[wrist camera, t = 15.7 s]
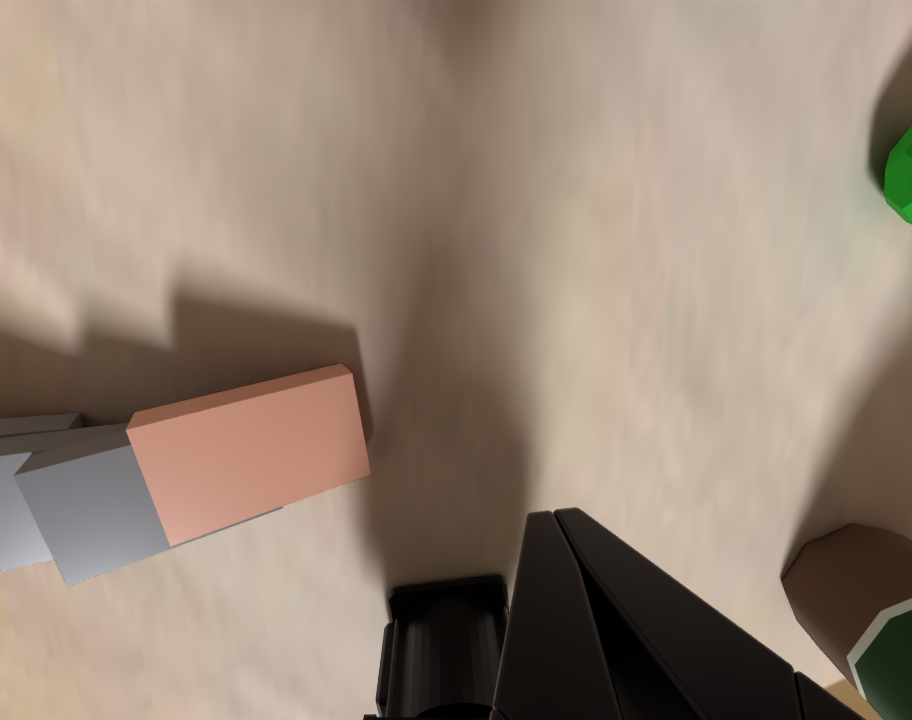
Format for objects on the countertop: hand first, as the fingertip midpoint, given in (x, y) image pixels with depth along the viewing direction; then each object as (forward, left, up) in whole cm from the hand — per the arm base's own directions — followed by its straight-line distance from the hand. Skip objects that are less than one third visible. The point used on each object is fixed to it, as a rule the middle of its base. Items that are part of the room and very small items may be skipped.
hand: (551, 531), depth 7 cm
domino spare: (+6, +3, -12) cm, 14 cm away
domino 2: (+10, +4, -12) cm, 17 cm away
